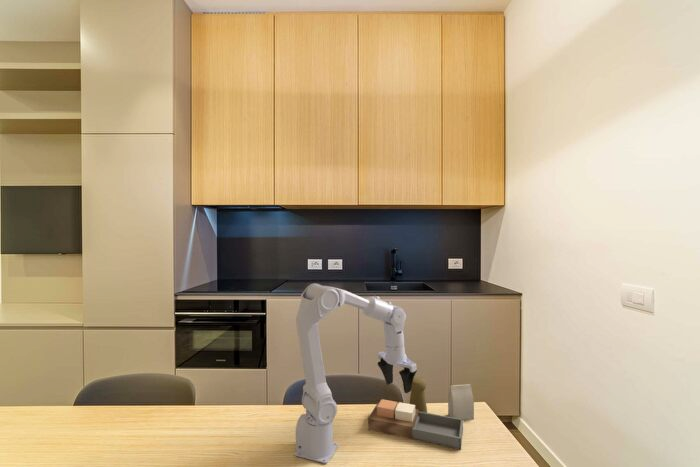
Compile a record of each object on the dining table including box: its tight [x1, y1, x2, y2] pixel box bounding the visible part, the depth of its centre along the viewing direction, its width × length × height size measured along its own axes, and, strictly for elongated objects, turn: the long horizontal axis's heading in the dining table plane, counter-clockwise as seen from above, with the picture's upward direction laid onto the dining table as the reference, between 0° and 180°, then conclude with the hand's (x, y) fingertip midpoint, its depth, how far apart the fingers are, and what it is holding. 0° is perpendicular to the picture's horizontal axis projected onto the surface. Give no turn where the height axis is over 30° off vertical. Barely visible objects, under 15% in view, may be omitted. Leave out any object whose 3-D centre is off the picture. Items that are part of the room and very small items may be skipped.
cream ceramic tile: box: [395, 401, 415, 422], centre depth 101 cm, size 5×5×2 cm
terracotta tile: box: [377, 399, 398, 418], centre depth 103 cm, size 5×5×2 cm
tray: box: [411, 411, 464, 451], centre depth 98 cm, size 13×10×3 cm
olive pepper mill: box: [409, 376, 428, 413], centre depth 109 cm, size 6×6×11 cm
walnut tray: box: [367, 401, 419, 440], centre depth 103 cm, size 13×10×4 cm
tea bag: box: [447, 383, 475, 421], centre depth 107 cm, size 4×7×10 cm, turn 98°
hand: (398, 387), depth 104 cm, fingers open, 7 cm apart
